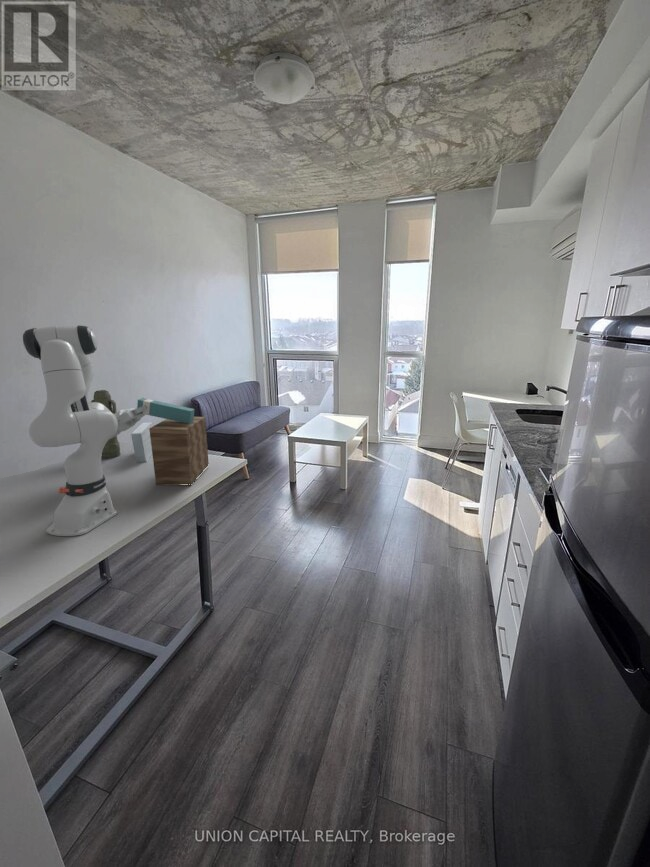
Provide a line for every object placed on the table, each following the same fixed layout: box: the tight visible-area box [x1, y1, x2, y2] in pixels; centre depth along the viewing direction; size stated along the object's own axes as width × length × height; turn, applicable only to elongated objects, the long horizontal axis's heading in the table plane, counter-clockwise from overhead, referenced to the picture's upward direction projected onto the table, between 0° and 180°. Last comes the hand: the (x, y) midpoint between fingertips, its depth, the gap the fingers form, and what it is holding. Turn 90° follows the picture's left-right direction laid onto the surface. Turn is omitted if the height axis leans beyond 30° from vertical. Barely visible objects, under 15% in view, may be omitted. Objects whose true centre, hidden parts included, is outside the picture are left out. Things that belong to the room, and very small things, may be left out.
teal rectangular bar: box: [136, 397, 195, 424], centre depth 163 cm, size 4×24×6 cm, turn 87°
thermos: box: [90, 389, 121, 459], centre depth 189 cm, size 9×12×35 cm
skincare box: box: [130, 421, 154, 463], centre depth 193 cm, size 21×6×16 cm, turn 10°
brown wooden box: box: [149, 416, 210, 485], centre depth 168 cm, size 22×16×26 cm
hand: (148, 405), depth 162 cm, fingers closed on teal rectangular bar, 4 cm apart
